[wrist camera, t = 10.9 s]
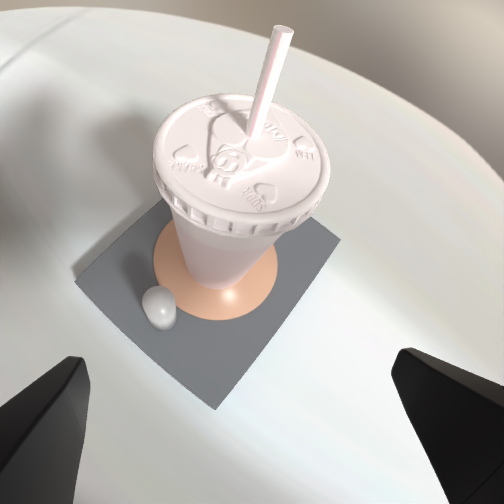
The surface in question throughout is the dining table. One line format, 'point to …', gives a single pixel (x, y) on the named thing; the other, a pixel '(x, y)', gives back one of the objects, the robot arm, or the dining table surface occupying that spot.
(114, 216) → the dining table surface
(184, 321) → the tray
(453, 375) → the robot arm
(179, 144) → the smoothie
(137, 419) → the dining table surface
